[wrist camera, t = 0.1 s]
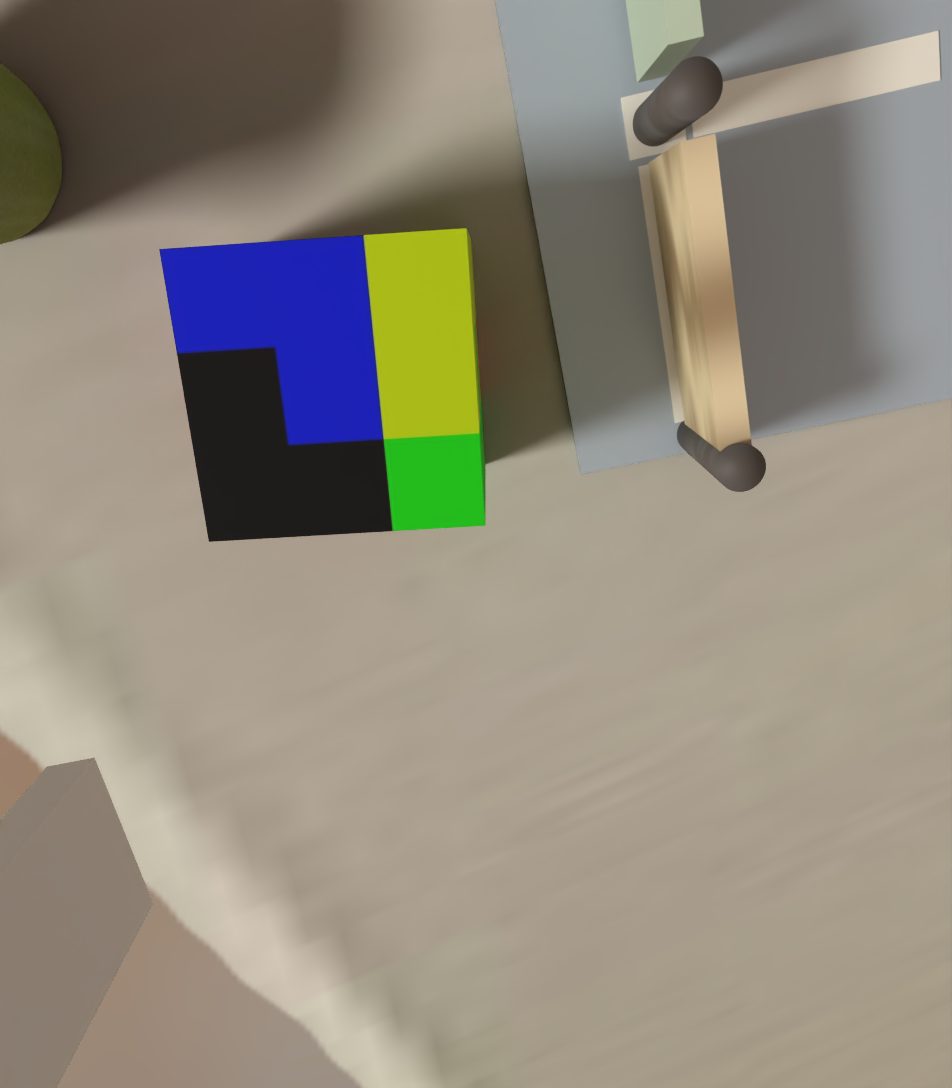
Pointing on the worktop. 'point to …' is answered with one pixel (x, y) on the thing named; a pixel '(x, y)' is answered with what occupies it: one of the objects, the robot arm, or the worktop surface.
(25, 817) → the robot arm
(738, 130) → the card
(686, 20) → the fence panel
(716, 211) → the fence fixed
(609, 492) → the worktop surface
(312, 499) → the puzzle toy
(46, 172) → the plant pot
